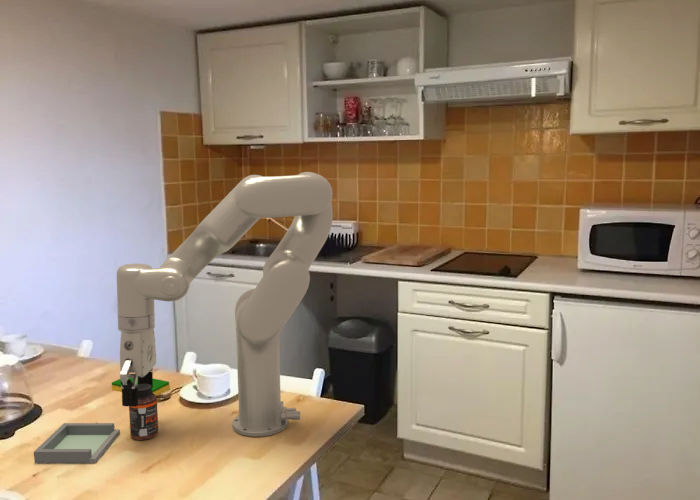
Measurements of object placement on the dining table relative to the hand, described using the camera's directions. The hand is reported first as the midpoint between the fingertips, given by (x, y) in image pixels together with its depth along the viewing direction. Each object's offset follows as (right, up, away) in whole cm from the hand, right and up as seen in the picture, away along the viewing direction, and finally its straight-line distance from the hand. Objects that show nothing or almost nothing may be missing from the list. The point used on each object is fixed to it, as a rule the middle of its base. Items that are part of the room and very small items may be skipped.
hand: (138, 397), depth 139 cm
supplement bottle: (+1, -9, +2) cm, 9 cm away
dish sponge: (-9, -5, +29) cm, 30 cm away
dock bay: (-11, -10, -4) cm, 15 cm away
